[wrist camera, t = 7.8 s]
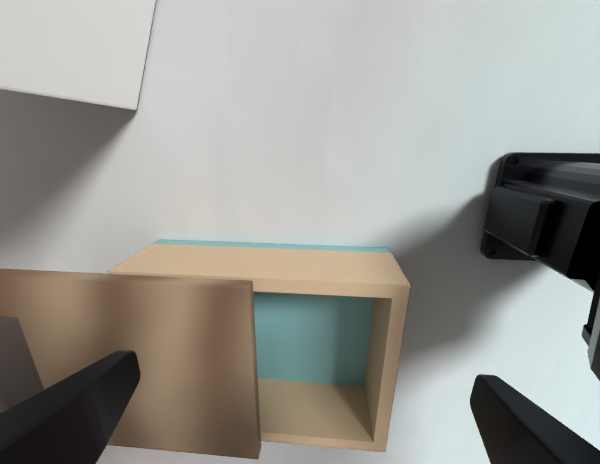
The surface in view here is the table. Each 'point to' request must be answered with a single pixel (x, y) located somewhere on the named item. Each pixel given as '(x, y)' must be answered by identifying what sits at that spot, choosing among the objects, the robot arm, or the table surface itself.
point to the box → (309, 332)
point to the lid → (141, 352)
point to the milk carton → (75, 49)
